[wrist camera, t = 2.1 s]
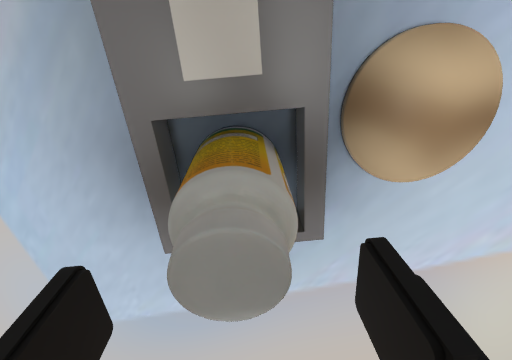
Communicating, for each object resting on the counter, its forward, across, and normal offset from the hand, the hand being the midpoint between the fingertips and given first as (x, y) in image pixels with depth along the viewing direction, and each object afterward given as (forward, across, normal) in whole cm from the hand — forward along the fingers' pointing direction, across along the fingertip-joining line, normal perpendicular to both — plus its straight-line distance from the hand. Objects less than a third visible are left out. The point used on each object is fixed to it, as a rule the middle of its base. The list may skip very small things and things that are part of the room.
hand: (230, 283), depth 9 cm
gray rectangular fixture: (+9, 0, -4) cm, 10 cm away
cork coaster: (+9, -11, -4) cm, 15 cm away
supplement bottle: (+9, 0, -1) cm, 9 cm away
